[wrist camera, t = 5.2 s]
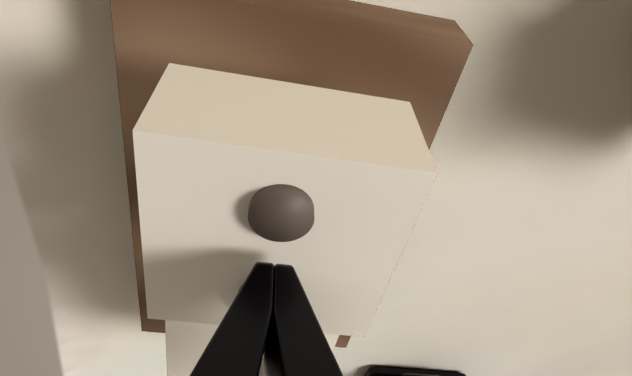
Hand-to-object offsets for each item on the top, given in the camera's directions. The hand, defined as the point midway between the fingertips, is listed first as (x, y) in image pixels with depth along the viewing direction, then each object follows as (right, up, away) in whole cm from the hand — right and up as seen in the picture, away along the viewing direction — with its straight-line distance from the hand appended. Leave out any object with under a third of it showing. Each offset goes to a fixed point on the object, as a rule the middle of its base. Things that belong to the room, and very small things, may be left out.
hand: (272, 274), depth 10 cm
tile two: (0, +2, +3) cm, 4 cm away
